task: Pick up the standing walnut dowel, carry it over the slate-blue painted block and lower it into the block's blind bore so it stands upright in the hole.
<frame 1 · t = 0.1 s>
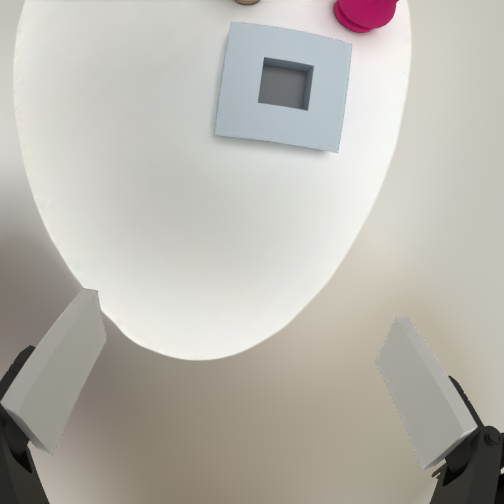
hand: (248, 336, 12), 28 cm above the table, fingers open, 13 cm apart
bore block: (280, 89, 32), on the table
pepper mill: (354, 15, 27), on the table
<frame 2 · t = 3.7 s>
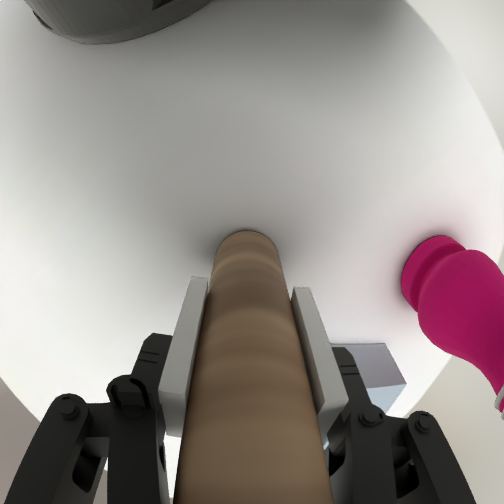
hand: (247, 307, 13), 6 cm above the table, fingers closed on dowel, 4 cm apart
bore block: (292, 395, 25), on the table
dowel: (246, 257, 19), on the table, touching gripper
pepper mill: (430, 270, 20), on the table
when the fingers open (9 cm above the table, at t = 8.3 s): dowel drops 2 cm, resting on bore block.
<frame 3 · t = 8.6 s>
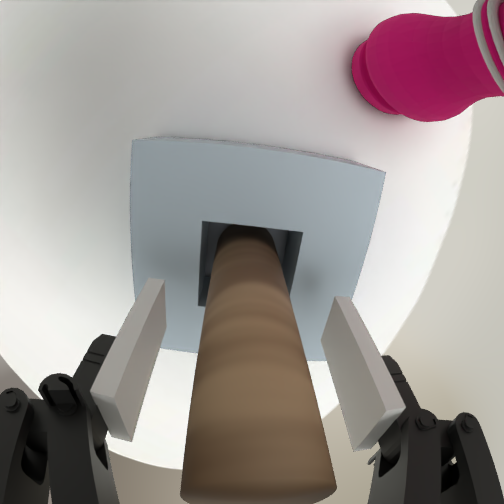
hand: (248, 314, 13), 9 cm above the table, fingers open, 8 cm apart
bore block: (246, 239, 21), on the table
dowel: (245, 245, 20), point 1 cm above the table, touching bore block
pepper mill: (387, 75, 16), on the table
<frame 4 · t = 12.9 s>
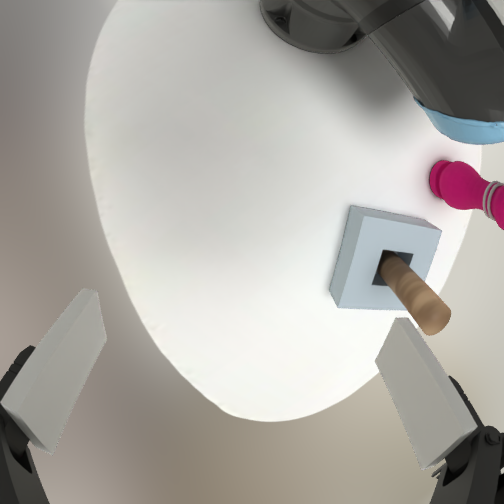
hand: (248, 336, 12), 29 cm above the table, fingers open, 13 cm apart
bore block: (379, 254, 42), on the table
dowel: (381, 257, 41), point 1 cm above the table, touching bore block
pepper mill: (442, 178, 37), on the table
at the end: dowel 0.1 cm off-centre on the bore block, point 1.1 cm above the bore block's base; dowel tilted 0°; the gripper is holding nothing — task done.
